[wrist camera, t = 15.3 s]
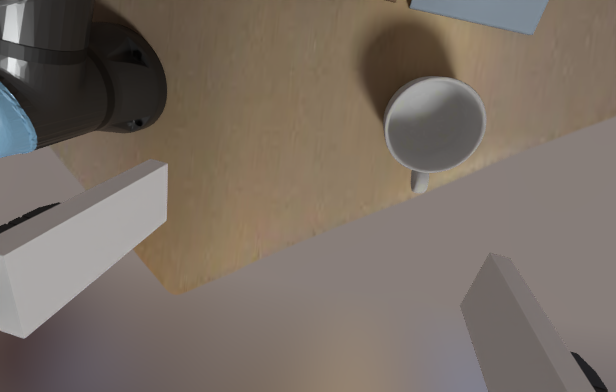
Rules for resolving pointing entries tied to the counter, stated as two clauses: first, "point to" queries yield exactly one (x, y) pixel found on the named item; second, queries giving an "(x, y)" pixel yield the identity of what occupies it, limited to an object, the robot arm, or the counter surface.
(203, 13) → the counter surface
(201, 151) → the counter surface
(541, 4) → the board
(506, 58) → the counter surface
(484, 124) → the teacup
